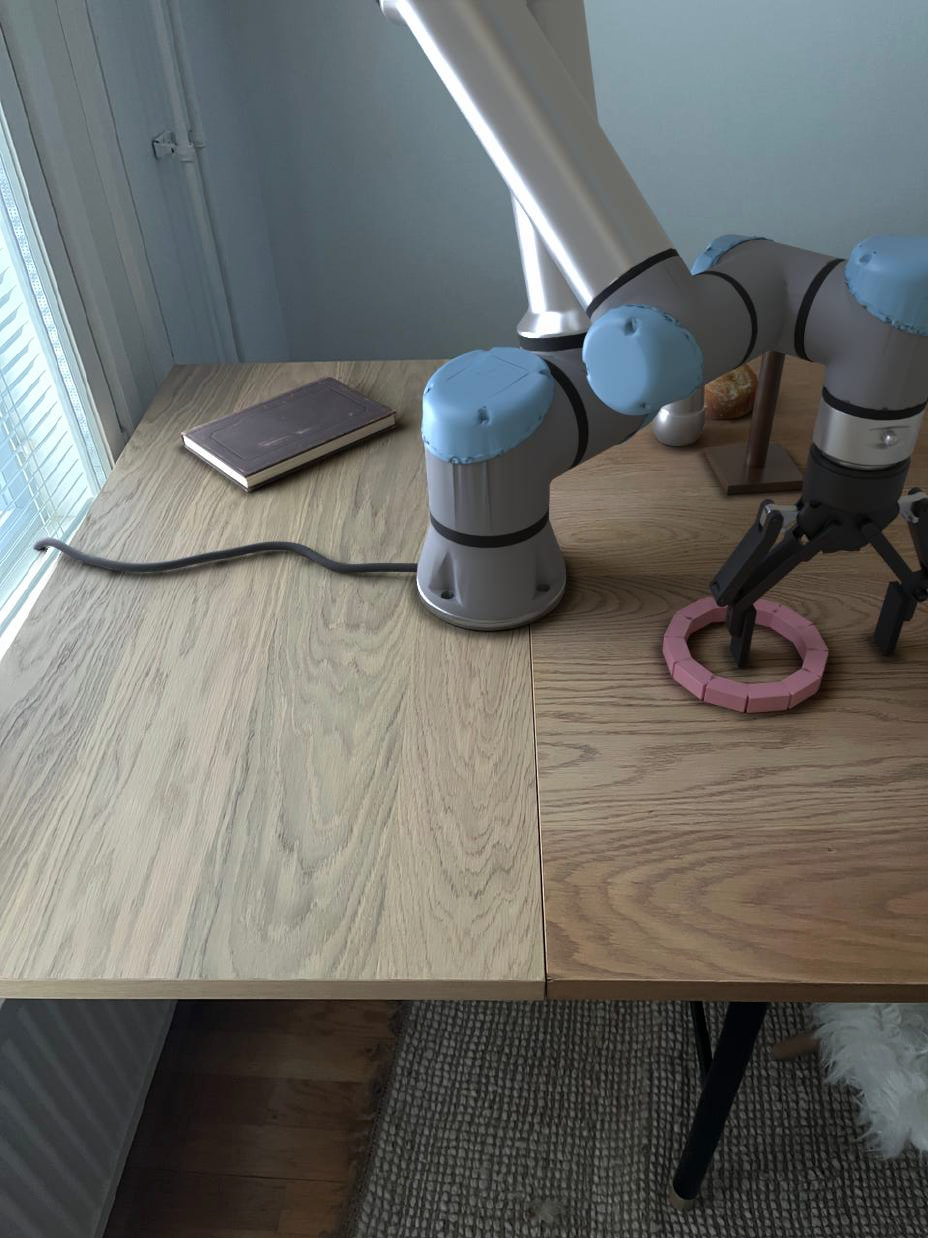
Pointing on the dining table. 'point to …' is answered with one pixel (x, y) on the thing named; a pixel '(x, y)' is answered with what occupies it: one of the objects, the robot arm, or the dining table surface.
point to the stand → (758, 443)
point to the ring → (738, 693)
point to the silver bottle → (681, 420)
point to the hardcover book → (288, 432)
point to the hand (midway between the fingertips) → (810, 652)
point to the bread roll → (731, 394)
